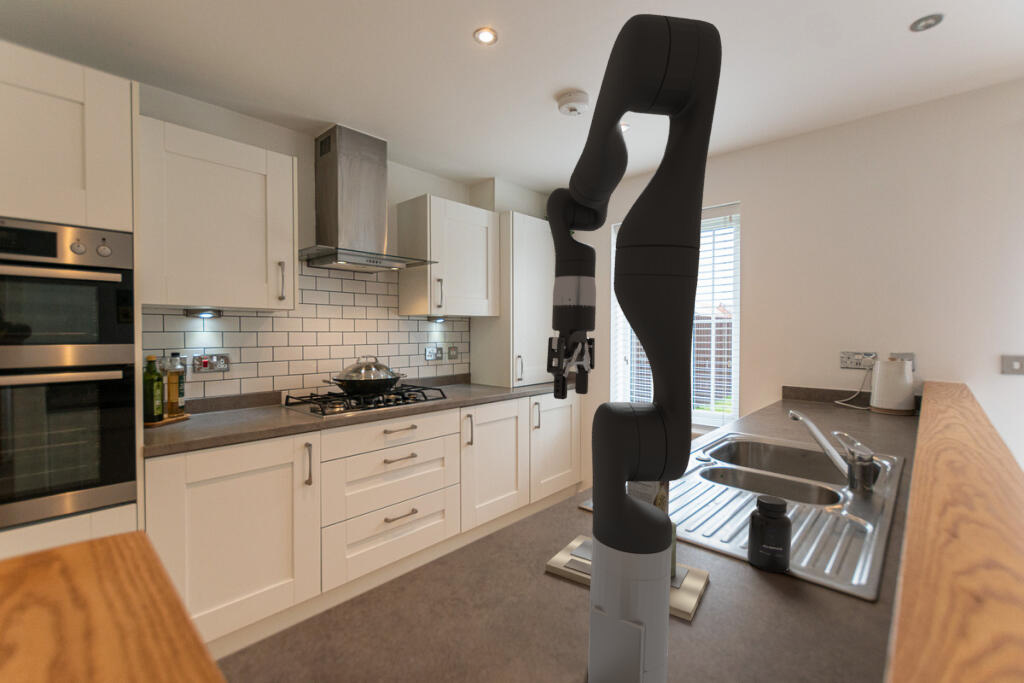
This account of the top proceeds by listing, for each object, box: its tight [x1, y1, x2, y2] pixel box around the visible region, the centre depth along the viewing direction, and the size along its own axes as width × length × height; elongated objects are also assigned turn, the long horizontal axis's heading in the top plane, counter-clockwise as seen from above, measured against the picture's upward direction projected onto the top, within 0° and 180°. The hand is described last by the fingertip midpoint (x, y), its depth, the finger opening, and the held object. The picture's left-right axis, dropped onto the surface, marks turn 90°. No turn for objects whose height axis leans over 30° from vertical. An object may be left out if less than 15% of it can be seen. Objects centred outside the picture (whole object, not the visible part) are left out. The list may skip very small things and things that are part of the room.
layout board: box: [545, 534, 710, 622], centre depth 80 cm, size 14×24×1 cm, turn 57°
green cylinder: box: [670, 520, 677, 578], centre depth 78 cm, size 4×4×8 cm
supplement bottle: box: [746, 494, 793, 574], centre depth 84 cm, size 7×7×12 cm
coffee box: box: [626, 481, 670, 516], centre depth 103 cm, size 9×6×16 cm
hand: (571, 396), depth 82 cm, fingers open, 8 cm apart
